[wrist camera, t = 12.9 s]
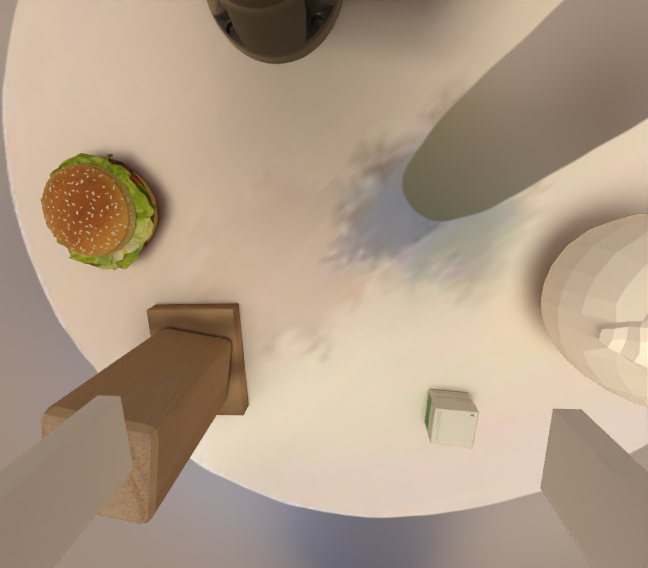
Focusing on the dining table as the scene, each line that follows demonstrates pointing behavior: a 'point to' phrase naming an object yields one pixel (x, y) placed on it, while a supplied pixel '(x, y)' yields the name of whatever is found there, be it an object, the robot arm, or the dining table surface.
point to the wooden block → (156, 411)
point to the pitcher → (603, 306)
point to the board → (215, 324)
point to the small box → (451, 418)
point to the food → (99, 211)
